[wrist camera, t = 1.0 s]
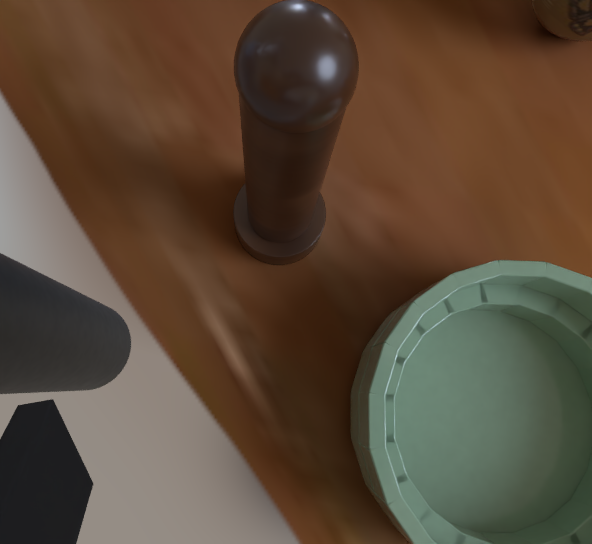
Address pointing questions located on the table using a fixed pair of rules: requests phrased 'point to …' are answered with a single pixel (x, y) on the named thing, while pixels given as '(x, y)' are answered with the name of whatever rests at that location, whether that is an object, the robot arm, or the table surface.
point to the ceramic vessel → (565, 18)
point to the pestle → (289, 124)
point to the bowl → (482, 408)
